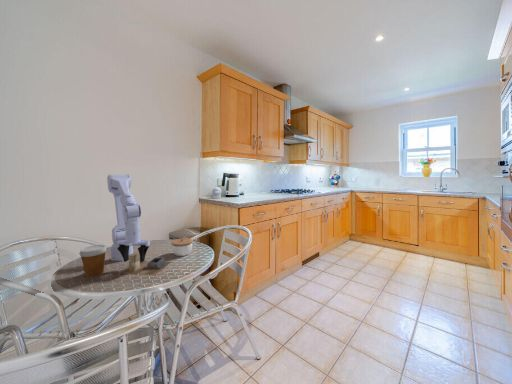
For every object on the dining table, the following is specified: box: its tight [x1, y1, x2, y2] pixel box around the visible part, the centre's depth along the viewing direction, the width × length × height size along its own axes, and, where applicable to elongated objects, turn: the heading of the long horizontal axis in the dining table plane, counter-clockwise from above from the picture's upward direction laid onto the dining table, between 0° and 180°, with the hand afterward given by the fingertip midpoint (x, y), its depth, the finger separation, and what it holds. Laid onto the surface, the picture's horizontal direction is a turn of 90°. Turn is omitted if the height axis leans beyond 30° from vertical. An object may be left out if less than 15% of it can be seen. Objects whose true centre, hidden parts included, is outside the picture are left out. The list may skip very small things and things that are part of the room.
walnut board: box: [116, 260, 172, 276], centre depth 100 cm, size 18×14×1 cm
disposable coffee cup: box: [78, 244, 108, 278], centre depth 94 cm, size 10×10×12 cm
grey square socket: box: [145, 257, 168, 269], centre depth 101 cm, size 7×7×3 cm
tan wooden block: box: [128, 251, 140, 271], centre depth 98 cm, size 2×4×7 cm, turn 176°
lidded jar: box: [171, 237, 193, 257], centre depth 117 cm, size 11×11×9 cm
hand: (134, 261), depth 98 cm, fingers open, 7 cm apart
